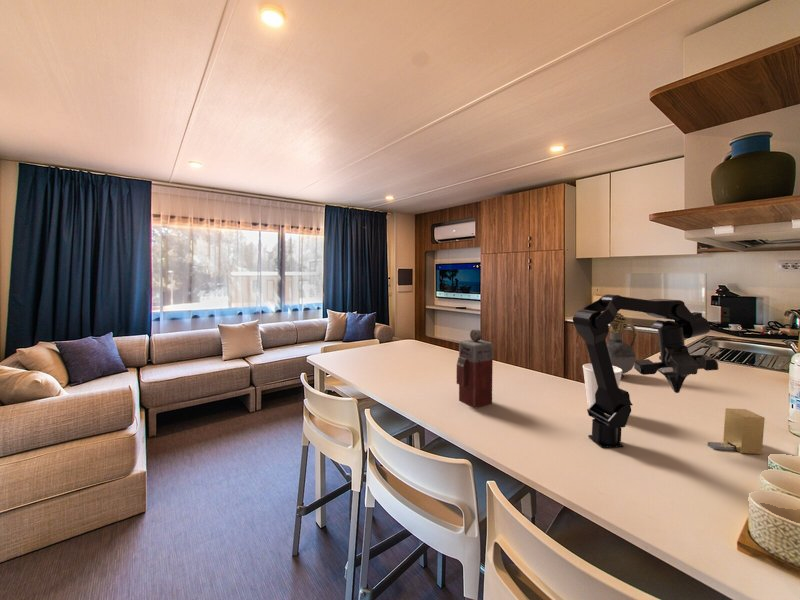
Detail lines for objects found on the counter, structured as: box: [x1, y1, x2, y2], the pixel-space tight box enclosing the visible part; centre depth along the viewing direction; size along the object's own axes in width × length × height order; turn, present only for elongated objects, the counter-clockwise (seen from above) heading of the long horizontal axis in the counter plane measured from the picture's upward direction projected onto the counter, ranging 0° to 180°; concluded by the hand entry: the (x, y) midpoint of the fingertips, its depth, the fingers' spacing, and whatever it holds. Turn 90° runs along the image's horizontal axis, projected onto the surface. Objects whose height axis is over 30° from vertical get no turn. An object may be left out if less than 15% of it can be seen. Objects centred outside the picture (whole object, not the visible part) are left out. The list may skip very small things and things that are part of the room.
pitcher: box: [606, 312, 638, 379], centre depth 156 cm, size 11×19×30 cm, turn 102°
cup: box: [582, 362, 623, 417], centre depth 115 cm, size 12×12×16 cm
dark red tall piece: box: [456, 328, 494, 409], centre depth 125 cm, size 9×11×28 cm
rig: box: [707, 441, 738, 452], centre depth 94 cm, size 13×9×6 cm, turn 83°
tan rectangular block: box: [722, 407, 766, 455], centre depth 91 cm, size 5×6×10 cm
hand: (676, 392), depth 98 cm, fingers closed
